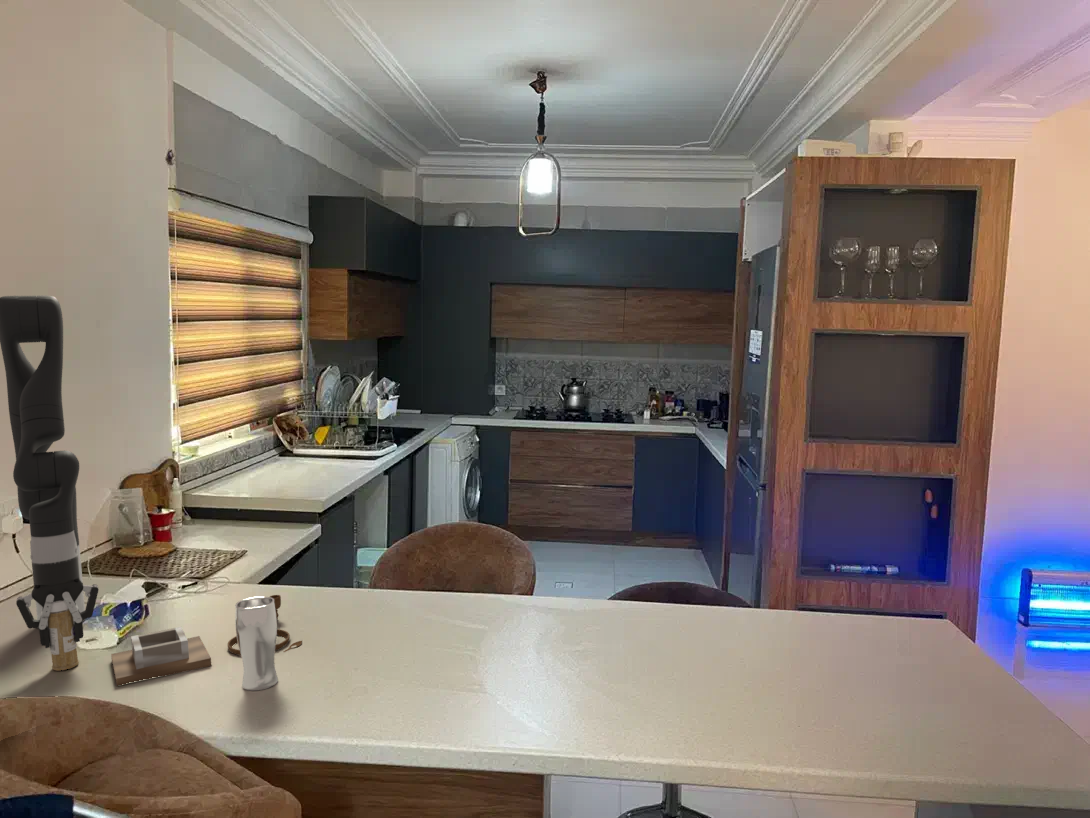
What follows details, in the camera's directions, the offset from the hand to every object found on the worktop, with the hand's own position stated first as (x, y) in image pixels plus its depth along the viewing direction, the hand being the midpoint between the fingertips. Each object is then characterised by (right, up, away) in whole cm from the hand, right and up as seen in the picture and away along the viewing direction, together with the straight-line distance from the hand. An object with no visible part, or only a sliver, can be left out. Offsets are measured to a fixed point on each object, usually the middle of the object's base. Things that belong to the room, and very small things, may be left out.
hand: (62, 643), depth 156 cm
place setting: (+36, -3, +13) cm, 38 cm away
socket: (+18, -4, +1) cm, 19 cm away
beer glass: (+41, -5, -10) cm, 43 cm away
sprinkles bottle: (0, -5, +1) cm, 5 cm away
